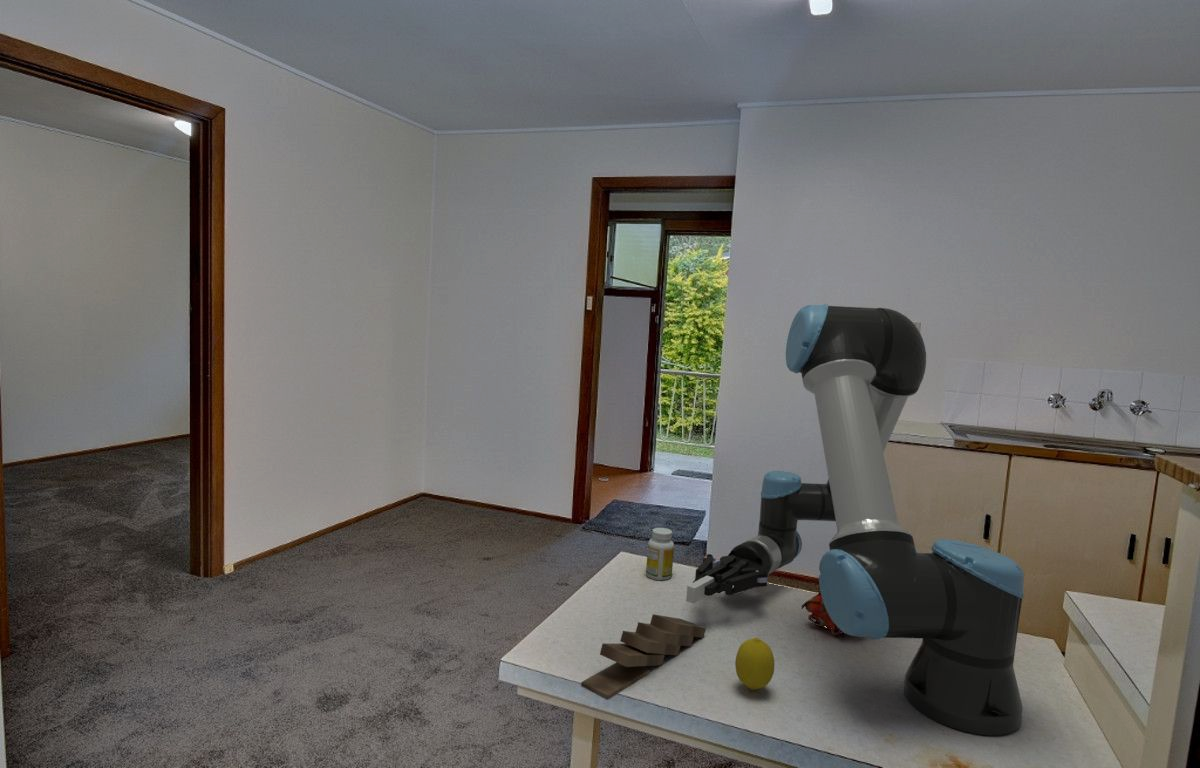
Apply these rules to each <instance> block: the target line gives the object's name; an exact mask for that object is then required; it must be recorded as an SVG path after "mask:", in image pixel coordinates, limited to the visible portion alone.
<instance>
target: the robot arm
mask: <svg viewBox="0 0 1200 768" xmlns="http://www.w3.org/2000/svg"><path fill="white" fill-rule="evenodd" d="M924 341H925V340H924V339H923V336H922V333H921V332H920V330H919V329H918V327H917V326H916V324H915V323H914V322H913V321H912V320H911V319H910V318H908V317H907V316H906V315H905V314H902V313H901V312H899V311H898V310H894V309H892V308H885V307H876V308H875V307H863V306H861V307H859V306H857V307H856V306H842V305H841V306H839V305H837V306H836V305H828V304H827V303H824V304H808V305H804V306H803V307H801V308H800V309H799V310H798V311H797V312H796V314H795V315H794V317H793V319H792V321H791V325H790V328H789V330H788V334H787V339H786V347H785V363H786V364H785V365H786V366H787V369H788V370H789V371H790V372H791V373H794V374H799V373H800V374H801V379H802V385H803V387H804V389H805V390H806V391H808V392H809V393H812V394H813V395H814V399H815V405H816V410H817V411H816V412H817V418H818V423H819V429H820V435H821V441H822V448H823V452H824V454H823V455H824V459H825V464H826V470H827V477H828V479H827V480H826V481H827V482H826V483H807V482H802V478H801V476H800V475H798V474H797V473H795V472H792V471H783V470H770V471H768V472H766V473H765V474H764V476H763V480H762V486H761V491H760V508H759V510H760V511H759V521H758V522H759V523H758V529H757V530H758V532H757V535H756V536H754V537H751V538H750V539H748V540H746V541H744V542H742V543H740V544H738V545H736V546H735V547H733V548H732V549H731V550H730V552H729V553H728V555H724V556H721V557H720V558H719V559H718V558H716V557H715V556H713V555H712V554H711V553H708V554H706V557H705V559H704V561H703V562H702V563H701V564H700V565H699V566H698V567H697V568H696V569H695V576H694V577H695V579H694V580H693V581H692V583H689V584H688V585H687V586H686V598H685V599H686V600H685V601H686V602H688V603H690V604H696V603H697V602H700V601H701V600H703V599H705V598H706V597H711V596H713V595H715V594H721V593H723V592H724V594H725V596H726V595H727V596H733V595H736V594H739V593H743V592H745V591H749V590H752V589H756V588H762V587H767V586H768V576H769V575H770V574H772V573H774V572H776V571H777V570H779V569H781V568H783V567H784V566H786V565H788V564H790V563H792V562H793V561H794V560H795V558H797V557H798V556H799V555H800V553H801V552H802V548H803V542H802V538H801V536H800V533H799V532H798V529H797V528H798V522H799V521H813V522H814V521H817V522H818V521H819V522H820V521H821V522H835V524H836V529H837V531H836V533H835V534H834V536H833V537H831V539H830V541H829V542H828V545H829V546H828V547H829V550H828V551H826V552H825V553H824V554H823V555H822V557H821V559H820V561H819V566H818V570H819V575H818V583H819V584H818V585H819V590H820V591H821V595H822V599H823V602H824V605H825V608H826V610H827V612H828V614H829V616H830V618H831V619H832V621H833V622H834V623H835V624H836V626H837V627H838V628H839V629H840V630H841V631H843V632H842V633H844V634H845V633H846V634H848V635H847V636H852V637H858V638H860V637H861V638H869V639H872V640H880V639H884V638H885V639H886V638H889V639H891V638H892V639H920V640H922V641H921V643H920V645H919V648H918V649H917V651H916V653H915V655H914V657H913V658H912V661H911V663H910V664H909V666H908V668H907V670H906V673H905V676H904V683H903V684H904V685H903V693H904V695H905V698H906V699H907V700H908V701H909V703H910V704H911V706H913V707H914V708H915V709H917V711H919V712H920V713H922V714H924V715H925V716H926V717H928V718H930V719H933V720H934V721H936V722H938V723H940V724H942V725H945V726H947V727H950V728H952V729H956V730H959V731H963V732H966V733H971V734H977V735H980V736H981V735H982V736H1003V735H1004V736H1005V735H1008V734H1012V733H1014V732H1016V731H1017V730H1018V729H1019V728H1020V726H1021V723H1022V716H1023V703H1022V698H1021V693H1020V691H1019V685H1018V681H1017V678H1016V673H1015V668H1014V661H1015V655H1016V647H1017V640H1018V639H1017V638H1018V630H1019V624H1020V615H1021V608H1022V604H1023V603H1022V602H1023V599H1024V597H1025V594H1024V576H1025V575H1024V571H1023V570H1022V567H1021V566H1020V564H1018V563H1017V562H1016V561H1015V560H1013V559H1011V558H1010V557H1008V556H1006V555H1004V554H1002V553H999V552H997V551H995V550H992V549H989V548H986V547H983V546H980V545H977V544H974V543H970V542H965V541H961V540H956V539H949V538H941V539H937V540H935V541H934V542H933V544H932V546H931V550H932V552H929V553H928V552H926V553H925V552H917V549H916V545H915V542H914V538H913V537H914V536H913V534H912V533H911V532H909V531H908V530H906V529H905V528H903V527H902V526H900V525H899V520H898V516H897V511H896V506H895V501H894V497H893V491H892V487H891V483H890V477H889V472H888V469H887V463H886V459H885V454H884V452H885V450H886V448H887V445H888V443H889V441H890V439H891V437H892V434H893V432H894V430H895V427H896V425H897V423H898V420H899V418H900V417H901V414H902V411H903V409H904V407H905V405H906V403H907V400H908V398H909V397H912V396H914V395H916V394H917V392H918V391H919V389H920V386H921V384H922V382H923V380H924V376H925V373H926V368H927V367H926V366H927V352H926V350H927V349H926V345H925V343H924ZM820 591H819V592H820ZM846 634H845V635H846Z"/></svg>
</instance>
